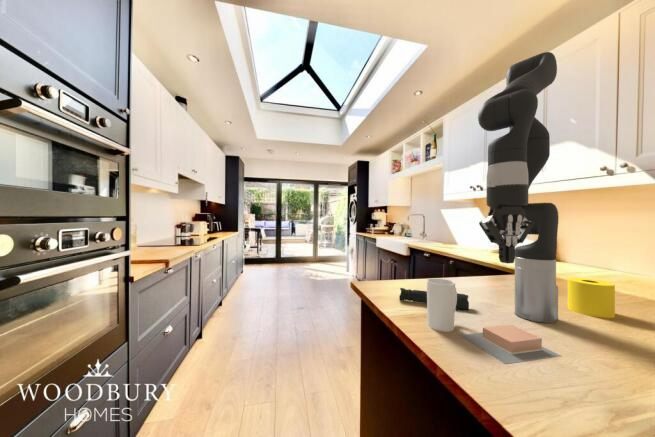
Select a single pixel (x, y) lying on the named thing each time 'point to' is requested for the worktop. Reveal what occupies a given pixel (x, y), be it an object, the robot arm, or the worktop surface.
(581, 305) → the tape roll
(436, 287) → the mug
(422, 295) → the flashlight
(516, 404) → the worktop surface
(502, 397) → the worktop surface
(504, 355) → the mat
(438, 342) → the worktop surface
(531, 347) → the tile
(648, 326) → the worktop surface
